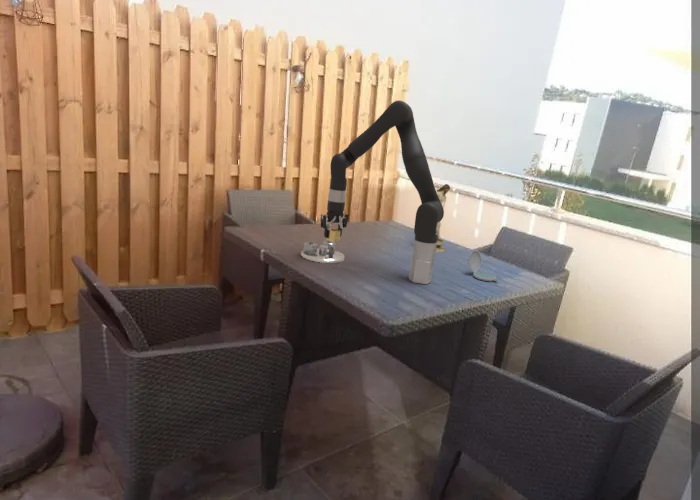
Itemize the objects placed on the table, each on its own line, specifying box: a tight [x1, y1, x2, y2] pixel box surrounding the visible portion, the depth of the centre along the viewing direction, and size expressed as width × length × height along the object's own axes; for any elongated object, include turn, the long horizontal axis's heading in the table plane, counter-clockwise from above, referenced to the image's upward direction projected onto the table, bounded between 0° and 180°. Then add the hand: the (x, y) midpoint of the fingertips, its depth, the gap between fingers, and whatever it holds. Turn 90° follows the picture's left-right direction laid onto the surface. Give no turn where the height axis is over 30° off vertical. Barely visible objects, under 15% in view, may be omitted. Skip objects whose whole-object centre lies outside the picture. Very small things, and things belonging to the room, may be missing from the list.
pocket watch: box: [467, 250, 500, 283], centre depth 210 cm, size 10×11×15 cm
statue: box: [412, 183, 451, 253], centre depth 252 cm, size 17×17×35 cm
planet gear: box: [325, 227, 341, 243], centre depth 209 cm, size 6×6×4 cm
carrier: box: [300, 240, 346, 264], centre depth 215 cm, size 20×20×6 cm
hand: (332, 237), depth 209 cm, fingers closed on planet gear, 6 cm apart
